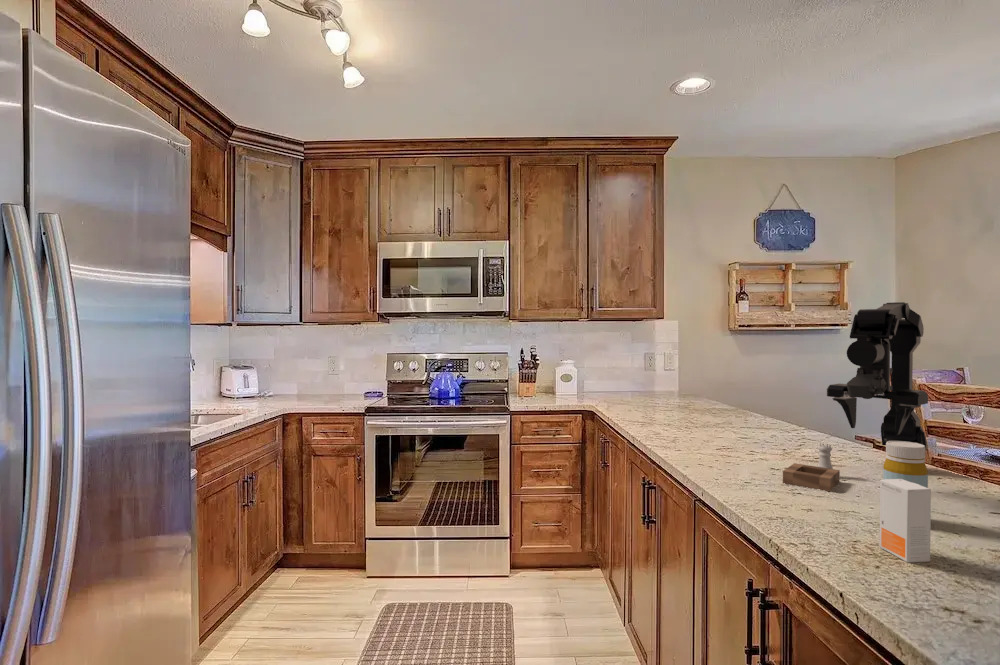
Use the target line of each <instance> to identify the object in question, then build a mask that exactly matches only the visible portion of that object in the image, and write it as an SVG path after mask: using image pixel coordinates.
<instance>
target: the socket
mask: <svg viewBox="0 0 1000 665" xmlns="http://www.w3.org/2000/svg"><path fill="white" fill-rule="evenodd" d="M840 475H841V474H840V469H835V468H833V469H829V468H822V467H817V465H816V466H814V465H808V464H803V463H802V464H801V463H796V462H794V463H793V464H791V465H790V466H788V467H786V468H785V469H783V470H782V484H784V483H785V484H784V485H789V484H790V485H791V486H795V485H797V487H800V486H803V487H802V488H806V487H808V488H807V489H812V488H814V489H813V490H817V489H820V490H819V491H823V490H825V491H824V492H829V491H830V492H831V491H832V490H834V488H835V487H837V486H838V485H839V483H840V480H841V478H840V477H841V476H840Z"/></svg>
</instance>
